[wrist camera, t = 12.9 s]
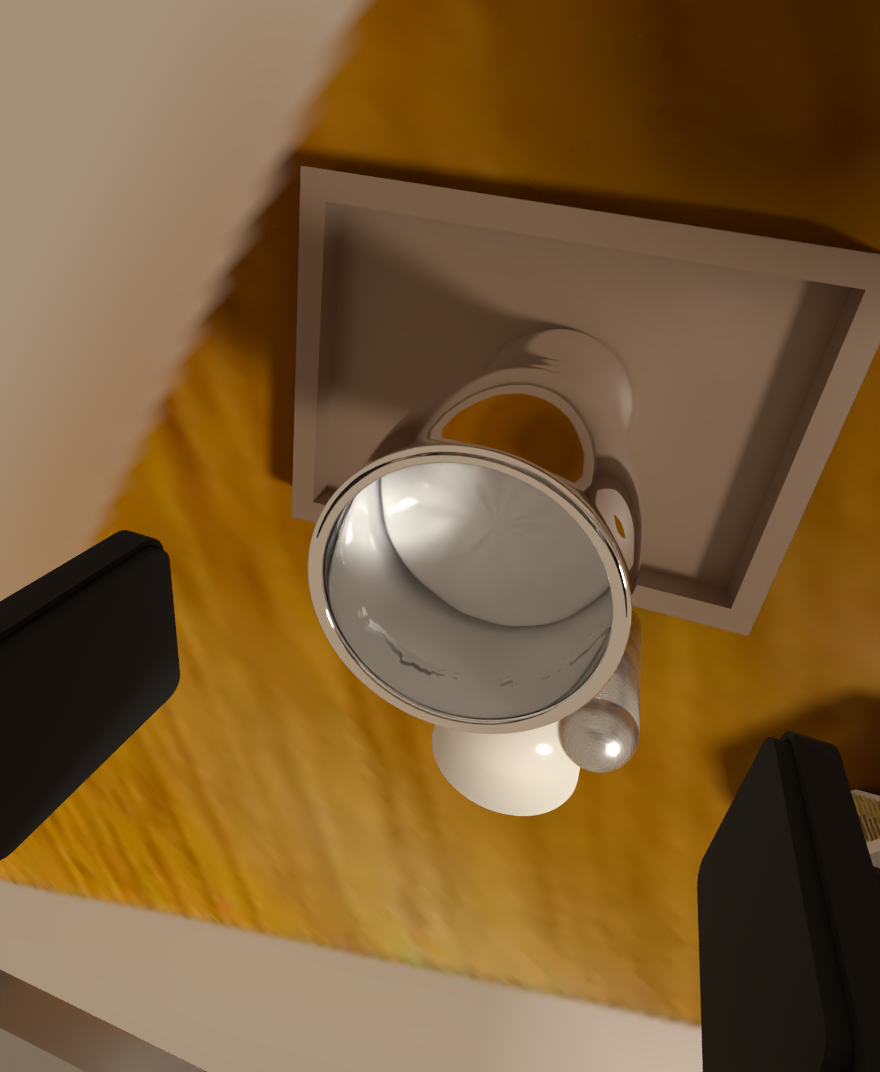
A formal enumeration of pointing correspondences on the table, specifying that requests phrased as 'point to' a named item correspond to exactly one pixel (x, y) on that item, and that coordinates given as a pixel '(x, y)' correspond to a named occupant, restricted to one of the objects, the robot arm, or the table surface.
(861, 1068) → the robot arm
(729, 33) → the table surface
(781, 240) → the tray
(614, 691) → the salt shaker
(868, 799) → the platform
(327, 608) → the silver metal tumbler
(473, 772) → the white rounded cylinder
